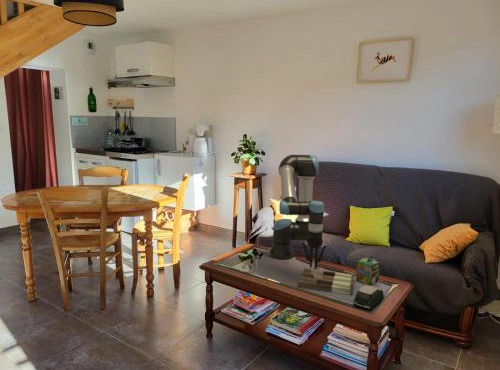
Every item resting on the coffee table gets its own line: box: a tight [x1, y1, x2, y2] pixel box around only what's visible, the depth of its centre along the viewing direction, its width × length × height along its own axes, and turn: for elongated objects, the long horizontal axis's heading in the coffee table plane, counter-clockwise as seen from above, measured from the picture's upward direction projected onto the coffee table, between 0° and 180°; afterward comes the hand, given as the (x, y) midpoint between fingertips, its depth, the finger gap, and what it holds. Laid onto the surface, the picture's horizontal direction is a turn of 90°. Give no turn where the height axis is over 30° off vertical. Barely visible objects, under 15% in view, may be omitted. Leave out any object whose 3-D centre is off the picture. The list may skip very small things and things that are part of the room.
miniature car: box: [352, 284, 385, 311], centre depth 182 cm, size 9×18×8 cm, turn 141°
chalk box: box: [355, 254, 381, 286], centre depth 207 cm, size 9×9×15 cm
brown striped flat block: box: [297, 268, 356, 296], centre depth 202 cm, size 20×27×6 cm
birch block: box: [314, 266, 325, 279], centre depth 203 cm, size 4×4×4 cm
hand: (313, 273), depth 204 cm, fingers closed
